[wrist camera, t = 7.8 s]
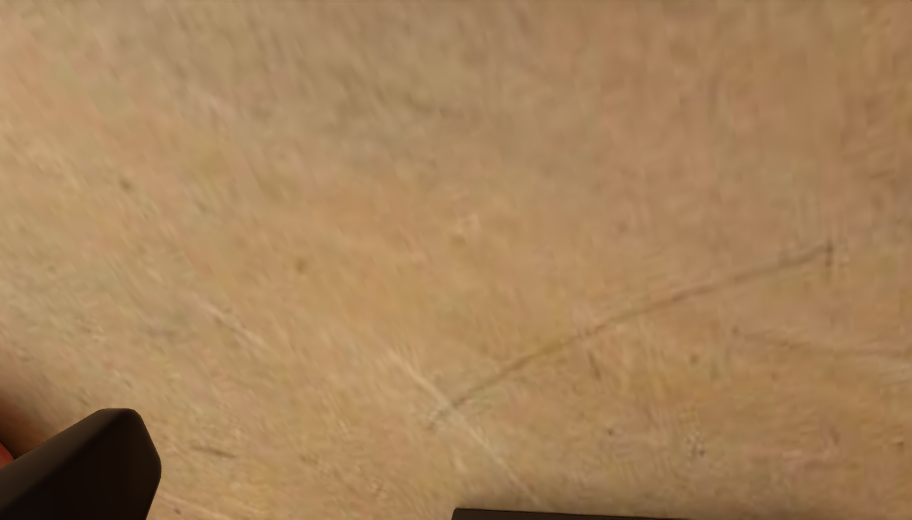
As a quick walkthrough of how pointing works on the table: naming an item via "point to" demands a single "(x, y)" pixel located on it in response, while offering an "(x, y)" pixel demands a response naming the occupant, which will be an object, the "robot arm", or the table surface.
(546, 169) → the table surface
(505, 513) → the panel
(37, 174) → the table surface
